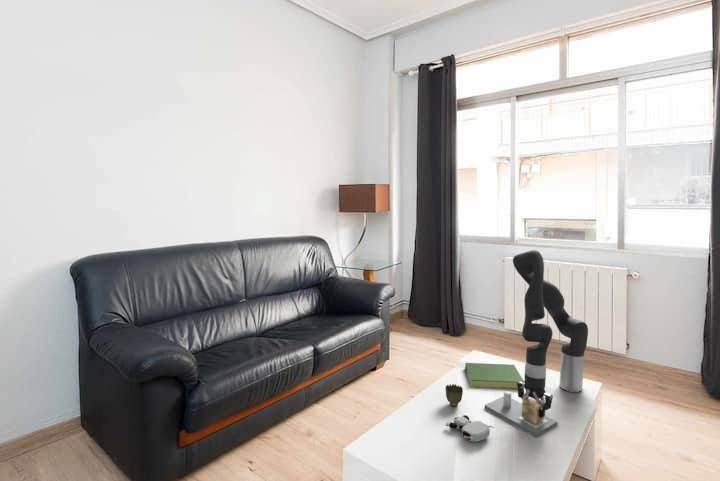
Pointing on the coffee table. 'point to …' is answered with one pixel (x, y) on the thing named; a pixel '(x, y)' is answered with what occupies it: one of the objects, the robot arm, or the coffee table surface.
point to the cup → (454, 394)
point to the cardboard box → (531, 410)
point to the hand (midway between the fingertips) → (533, 413)
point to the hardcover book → (493, 375)
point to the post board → (518, 415)
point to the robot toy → (470, 428)
